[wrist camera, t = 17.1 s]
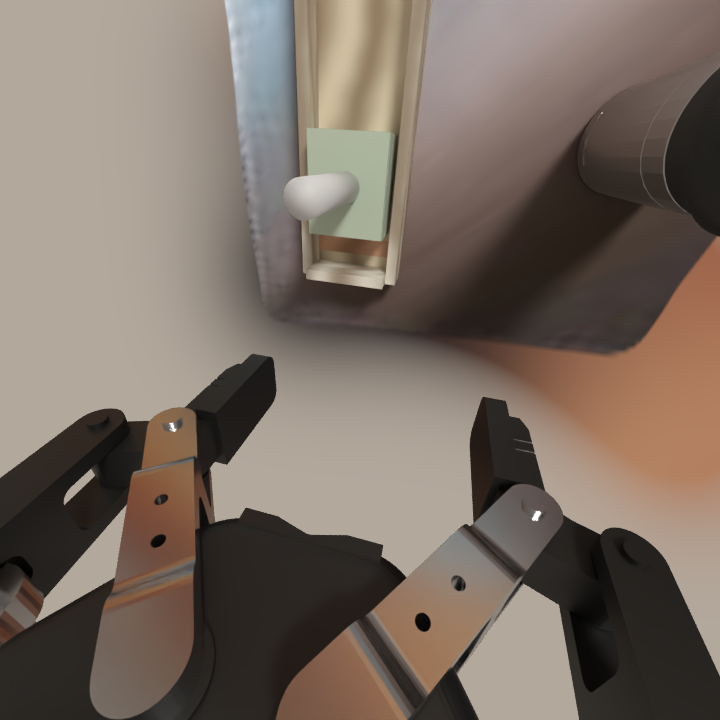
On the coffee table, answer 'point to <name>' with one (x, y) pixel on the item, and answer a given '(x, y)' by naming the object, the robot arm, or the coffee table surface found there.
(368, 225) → the green block with post
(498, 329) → the coffee table surface
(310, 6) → the bay
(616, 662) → the robot arm
